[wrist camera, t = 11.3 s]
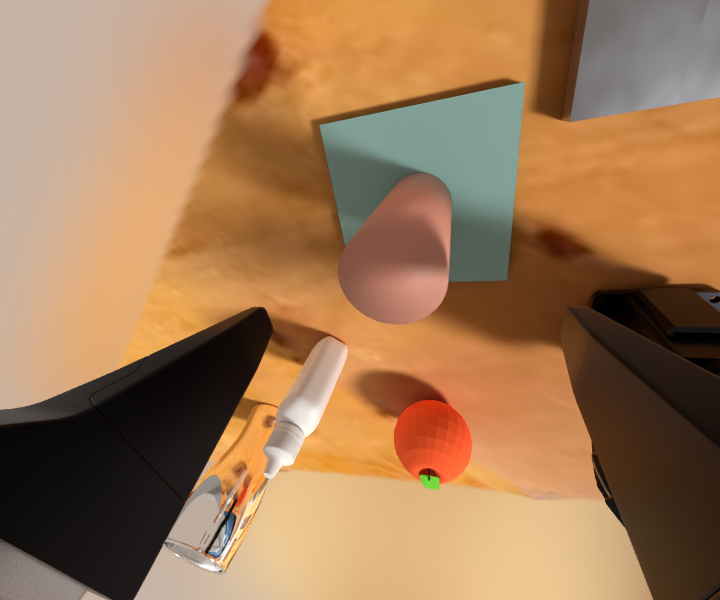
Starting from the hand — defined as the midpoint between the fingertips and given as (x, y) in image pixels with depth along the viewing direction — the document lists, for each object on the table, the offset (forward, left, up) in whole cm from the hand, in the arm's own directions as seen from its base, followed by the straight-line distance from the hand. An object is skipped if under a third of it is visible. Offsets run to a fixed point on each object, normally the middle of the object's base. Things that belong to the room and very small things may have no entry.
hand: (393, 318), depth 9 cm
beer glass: (-26, +22, -13) cm, 36 cm away
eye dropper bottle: (-14, +11, -13) cm, 22 cm away
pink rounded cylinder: (0, 0, -12) cm, 12 cm away
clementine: (-21, +1, -13) cm, 25 cm away
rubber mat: (0, +1, -13) cm, 13 cm away
